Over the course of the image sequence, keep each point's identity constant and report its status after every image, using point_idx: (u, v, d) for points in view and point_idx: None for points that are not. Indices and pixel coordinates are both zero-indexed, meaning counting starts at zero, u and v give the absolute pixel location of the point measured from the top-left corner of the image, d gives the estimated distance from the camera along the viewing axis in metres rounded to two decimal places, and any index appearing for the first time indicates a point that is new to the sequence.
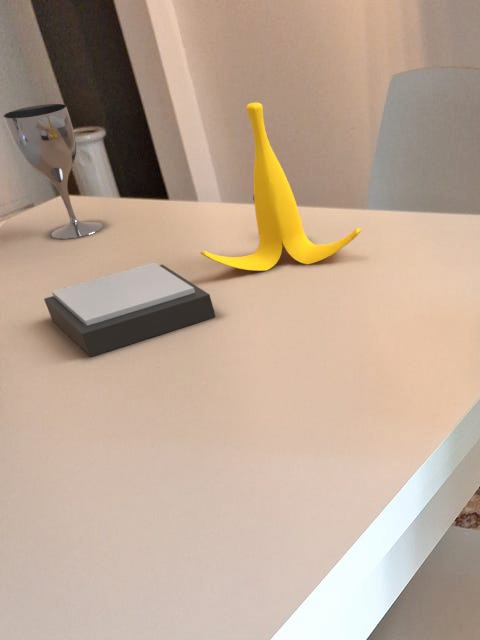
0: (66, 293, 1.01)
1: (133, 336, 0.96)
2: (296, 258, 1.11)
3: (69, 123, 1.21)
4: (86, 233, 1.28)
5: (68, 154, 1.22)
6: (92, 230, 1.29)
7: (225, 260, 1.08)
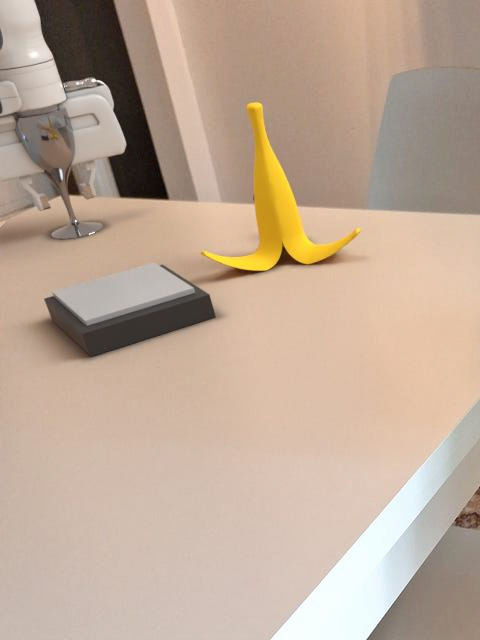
0: (66, 293, 1.01)
1: (133, 336, 0.96)
2: (296, 258, 1.11)
3: (69, 123, 1.21)
4: (86, 233, 1.28)
5: (68, 154, 1.22)
6: (92, 230, 1.29)
7: (225, 260, 1.08)
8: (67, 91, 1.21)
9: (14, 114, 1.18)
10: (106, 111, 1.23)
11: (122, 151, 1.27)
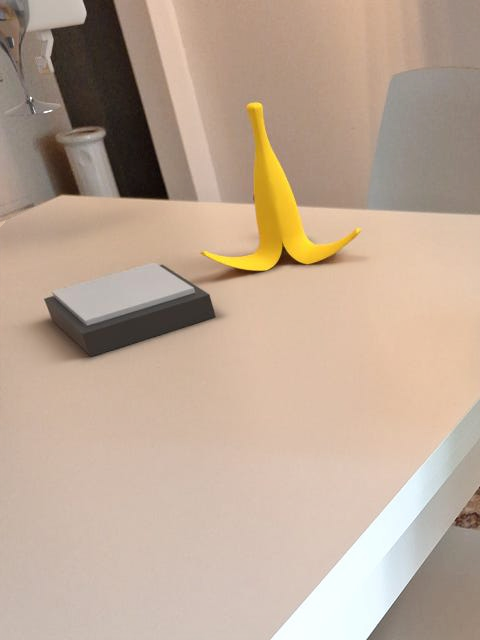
0: (66, 293, 1.01)
1: (133, 336, 0.96)
2: (296, 258, 1.11)
3: None
4: (42, 111, 1.17)
5: (21, 18, 1.12)
6: (49, 108, 1.18)
7: (225, 260, 1.08)
8: None
9: None
10: None
11: (82, 21, 1.16)
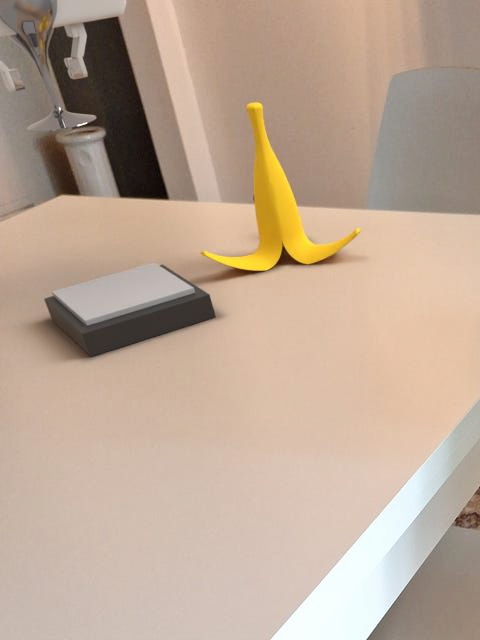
0: (66, 293, 1.01)
1: (133, 336, 0.96)
2: (296, 258, 1.11)
3: None
4: (74, 124, 0.95)
5: (48, 9, 0.89)
6: (82, 121, 0.96)
7: (225, 260, 1.08)
8: None
9: None
10: None
11: (121, 12, 0.94)
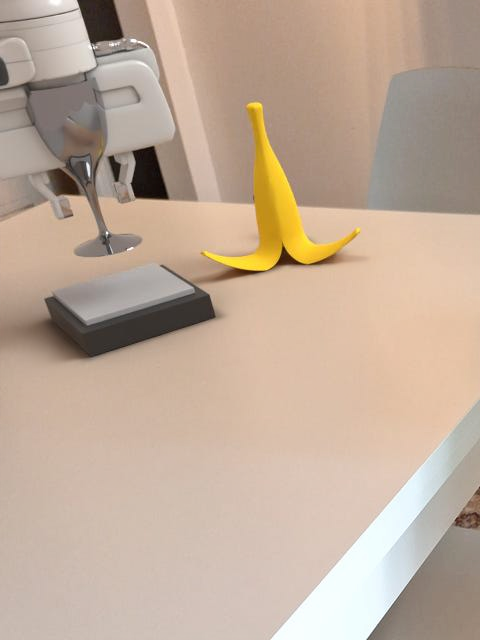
0: (66, 293, 1.01)
1: (133, 336, 0.96)
2: (296, 258, 1.11)
3: (100, 99, 0.88)
4: (121, 249, 0.95)
5: (99, 142, 0.89)
6: (129, 245, 0.96)
7: (225, 260, 1.08)
8: (97, 55, 0.88)
9: (25, 86, 0.84)
10: (150, 83, 0.90)
11: (170, 139, 0.94)
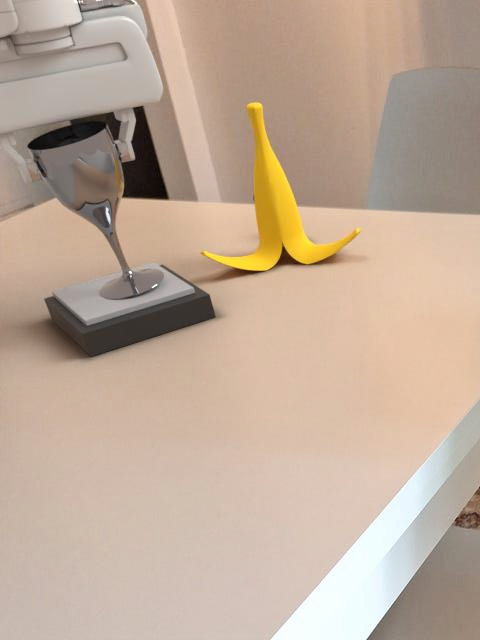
0: (66, 293, 1.01)
1: (133, 336, 0.96)
2: (296, 258, 1.11)
3: (113, 147, 0.91)
4: (145, 288, 0.98)
5: (115, 189, 0.92)
6: (152, 283, 0.99)
7: (225, 260, 1.08)
8: (83, 10, 0.85)
9: (7, 39, 0.82)
10: (137, 40, 0.88)
11: (158, 99, 0.92)
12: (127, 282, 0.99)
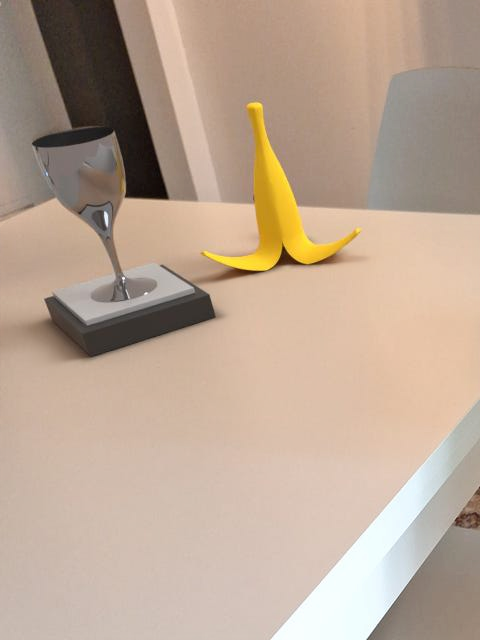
0: (66, 293, 1.01)
1: (133, 336, 0.96)
2: (296, 258, 1.11)
3: (118, 153, 0.91)
4: (137, 294, 0.98)
5: (116, 193, 0.92)
6: (145, 290, 0.99)
7: (225, 260, 1.08)
8: None
9: None
10: None
11: None
12: (119, 287, 0.99)
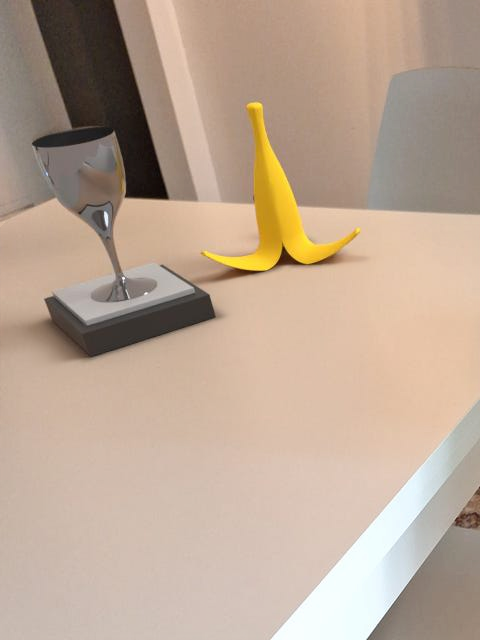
0: (66, 293, 1.01)
1: (133, 336, 0.96)
2: (296, 258, 1.11)
3: (118, 153, 0.91)
4: (137, 294, 0.98)
5: (116, 193, 0.93)
6: (145, 290, 0.99)
7: (225, 260, 1.08)
8: None
9: None
10: None
11: None
12: (119, 287, 0.99)
